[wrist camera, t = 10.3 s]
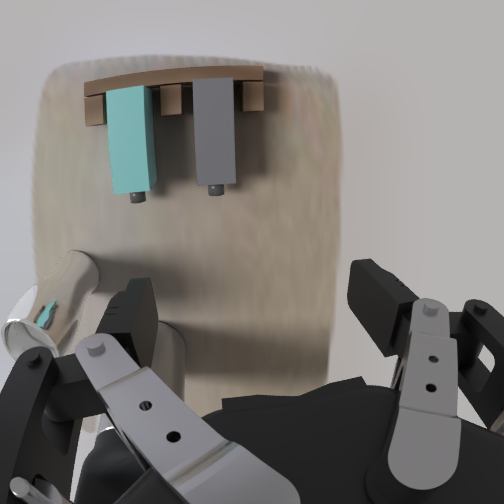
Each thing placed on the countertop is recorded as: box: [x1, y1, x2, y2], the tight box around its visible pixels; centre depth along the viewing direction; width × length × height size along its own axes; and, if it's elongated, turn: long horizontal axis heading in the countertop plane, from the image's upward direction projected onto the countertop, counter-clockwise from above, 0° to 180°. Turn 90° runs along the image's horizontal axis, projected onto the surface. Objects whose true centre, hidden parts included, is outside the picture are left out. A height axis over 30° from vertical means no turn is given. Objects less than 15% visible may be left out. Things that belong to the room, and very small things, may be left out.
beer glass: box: [1, 251, 99, 361], centre depth 28 cm, size 7×7×15 cm
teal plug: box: [106, 85, 157, 203], centre depth 28 cm, size 12×4×5 cm, turn 1°
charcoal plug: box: [193, 78, 236, 196], centre depth 29 cm, size 12×4×5 cm, turn 1°
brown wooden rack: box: [84, 66, 264, 126], centre depth 27 cm, size 5×18×2 cm, turn 91°
